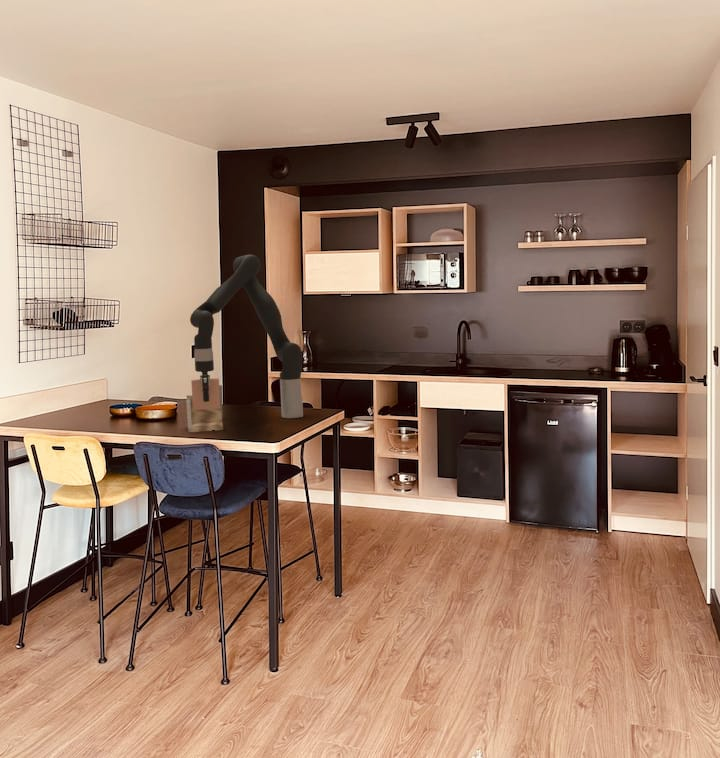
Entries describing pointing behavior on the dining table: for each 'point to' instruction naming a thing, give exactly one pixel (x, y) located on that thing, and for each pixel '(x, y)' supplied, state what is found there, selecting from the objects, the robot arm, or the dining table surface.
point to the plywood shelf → (206, 419)
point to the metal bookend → (189, 413)
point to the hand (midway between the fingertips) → (206, 400)
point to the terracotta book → (198, 395)
